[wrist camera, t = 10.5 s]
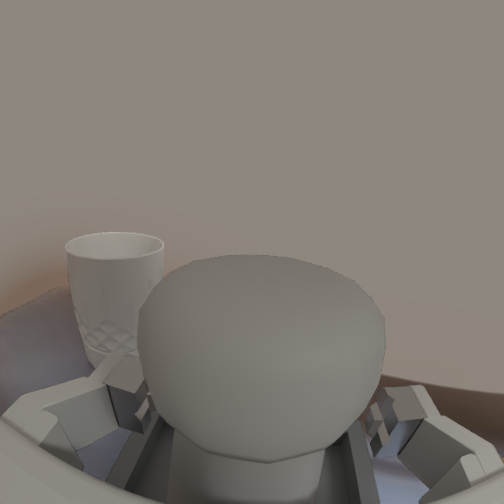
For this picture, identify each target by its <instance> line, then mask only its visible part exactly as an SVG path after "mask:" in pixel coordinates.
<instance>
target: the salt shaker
mask: <svg viewBox="0 0 504 504" xmlns="http://www.w3.org/2000/svg"><path fill="white" fill-rule="evenodd" d="M385 347H386V338H385V318H384V316H383V315H382V313H381V312H380V310H379V308H378V307H377V305H376V304H375V302H374V300H373V299H372V298H371V297H370V296H369V295H368V294H367V293H366V292H365V291H364V290H363V289H362V288H361V287H360V286H359V285H358V284H357V283H356V282H355V281H354V280H352V279H349V278H347V277H345V276H343V275H341V274H339V273H337V272H335V271H333V270H331V269H329V268H326V267H322V266H319V265H315V264H311V263H308V262H304V261H301V260H297V259H293V258H287V257H278V256H269V255H226V256H219V257H213V258H207V259H202V260H195V261H192V262H190V263H188V264H186V265H184V266H182V267H180V268H178V269H175V270H174V271H171V272H170V273H169V274H168V275H167V276H165V278H164V279H162V280H161V281H160V282H159V283H158V284H157V285H156V286H155V287H154V288H153V290H152V291H151V293H150V294H149V296H148V297H147V299H146V300H145V302H144V303H143V305H142V306H141V308H140V310H139V316H138V329H137V349H138V353H139V358H140V362H141V366H142V370H143V374H144V377H145V380H146V383H147V385H148V388H149V391H150V394H151V397H152V399H153V402H154V405H155V407H156V410H157V412H158V413H159V414H160V415H161V417H162V418H163V419H164V420H165V421H166V422H167V423H168V424H169V425H170V426H172V427H173V428H174V436H173V445H172V453H171V462H170V472H169V482H168V493H167V504H314V502H315V498H316V493H317V489H318V484H319V479H320V475H321V469H322V464H323V459H324V453H325V449H326V448H327V447H328V446H330V445H331V444H332V443H334V442H335V441H336V440H337V439H338V438H339V437H340V436H341V435H342V434H343V433H344V432H345V431H346V430H347V429H348V428H349V427H350V425H351V424H352V423H353V422H354V421H355V420H356V419H357V418H358V417H359V416H360V415H361V413H362V412H363V411H364V410H365V409H366V407H367V405H368V403H369V401H370V399H371V398H372V396H373V394H374V392H375V390H376V388H377V386H378V384H379V381H380V376H381V371H382V365H383V360H384V354H385Z"/></svg>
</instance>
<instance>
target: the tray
mask: <svg viewBox="0 0 504 504" xmlns="http://www.w3.org/2000/svg"><path fill="white" fill-rule="evenodd" d="M150 414H151V419H152V420H151V422H150V424H149V426H148V428H147V430H146V432H145V434H141V433H138V432H134V431H132V433H131V435H130V436H129V438H128V440H127V442H126V444H125V446H124V447H123V449H122V451H121V453H120V455H119V457H118V458H117V460H116V462H115V464H114V466H113V468H112V469H111V471H110V473H109V475H108V477H107V479H106V481H105V482H106V483H109V484H111V485H113V486H116V487H118V488H121V489H123V490H126V491H129V492H131V493H134V494H137V495H140V496H143V497H146V498H149V499H152V500H155V501H158V502H162V503H165V504H167V493H168V482H169V472H170V462H171V453H172V445H173V436H174V428H173V427H172V426H170V425H169V424H168V423H167V422H166V421H165V420H164V419H163V418H162V417H161V415H160V414H159V413H158V412H157V410H156V411H154V412H152V413H150ZM314 504H380V501H379V497H378V492H377V487H376V483H375V478H374V474H373V470H372V465H371V461H370V457H369V453H368V449H367V445H366V441H365V437H364V433H363V429H362V426H361V422H360V420H355V421H354V422H353V423H352V424H351V425H350V427H349V428H348V429H347V430H346V431H345V432H344V433H343V434H342V435H341V436H340V437H339V438H338V439H337V440H336V441H335V442H334V443H332V444H331V445H330V446H328V447H327V448H326V449H325V453H324V459H323V464H322V469H321V475H320V479H319V484H318V489H317V493H316V498H315V502H314Z"/></svg>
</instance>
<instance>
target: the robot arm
mask: <svg viewBox="0 0 504 504" xmlns="http://www.w3.org/2000/svg"><path fill="white" fill-rule="evenodd" d="M375 399H376V401H377V402H375V403H374V404H373V405H371V406H370V408H369V410H368V412H367V415H366V421H365V422H366V430H367V433H368V434H369V435H370V436H371V437H373V439H372V441H371V442H370V445H371V449H372V452H373V456H374V458H386V457H395V456H398V457H397V458H398V459H399V460H400V461H401V462H402V463H403V464H404V465H405V466H406V467H407V468H409V469H410V470H411V471H412V472H413V473H414V474H415V475H416V476H417V477H418V478H419V479H420V480H421V481H422V482H423V483H424V484H425V485H426V486H427V487H428V488H429V489H430V490H429V491H428V492H427V493H426V494H425V495H424V496H422V497H421V499H420V500H419V504H504V464H503V462H502V460H501V458H500V456H499V454H498V453H497V451H496V449H495V447H494V446H493V444H491V443H489V442H488V441H486V440H484V439H482V438H481V437H479V436H477V435H476V434H474V433H472V432H471V431H469V430H467V429H466V428H464V427H462V426H461V425H459V424H457V423H456V422H454V421H452V420H451V419H449V418H448V417H446V416H441V415H440V414H439V412H438V410H437V408H436V406H435V405H434V403H433V401H432V399H431V398H430V396H429V394H428V393H427V391H426V389H425V387H424V386H422V385H411V386H401V387H381V388H380V389H379V390H378V391H377V393H376V395H375ZM154 411H156V407H155V405H154V402H153V399H152V397H151V394H150V391H149V388H148V385H147V383H146V380H145V377H144V374H143V370H142V366H141V362H140V358H139V357H137V356H134V355H131V354H126V353H123V352H120V351H117V350H114V351H111V352H110V353H109V355H108V356H107V357H106V358H105V359H104V360H103V361H102V362H101V363H100V365H99V366H98V367H97V368H96V369H95V370H94V371H93V372H92V373H91V375H90V376H89V377H88V378H87V377H84V376H83V377H80V378H77V379H74V380H71V381H67V382H64V383H61V384H58V385H54V386H51V387H47V388H44V389H40V390H37V391H33V392H29V393H26V394H22V395H21V396H20V397H19V398H18V399H17V400H16V401H15V402H14V403H13V404H12V405H11V406H10V407H9V408H8V409H7V410H6V411H5V412H4V413H3V414H2V415H1V417H0V504H165V503H162V502H158V501H155V500H152V499H149V498H146V497H143V496H140V495H137V494H134V493H131V492H129V491H126V490H123V489H121V488H118V487H116V486H113V485H111V484H109V483H106V482H104V481H102V480H100V479H97V478H95V477H93V476H91V475H89V474H87V473H85V472H83V471H82V470H83V468H84V466H83V463H82V461H81V460H80V458H79V457H78V455H77V453H76V451H78V450H80V449H82V448H84V447H86V446H87V445H89V444H91V443H93V442H95V441H97V440H98V439H100V438H102V437H104V436H106V435H107V434H109V433H111V432H113V431H114V430H116V429H118V428H119V427H122V428H125V429H128V430H131V431H134V432H138V433H141V434H145V432H146V430H147V428H148V426H149V424H150V422H151V420H152V419H151V414H150V413H152V412H154Z"/></svg>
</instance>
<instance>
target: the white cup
mask: <svg viewBox="0 0 504 504" xmlns="http://www.w3.org/2000/svg"><path fill="white" fill-rule="evenodd" d="M164 247H165V244H164V242H163V241H162V240H160V239H159V238H156V237H153V236H150V235H146V234H140V233H130V232H104V233H95V234H88V235H84V236H80V237H77V238H75V239H72V240H70V241H69V242H67V243H66V244H65V248H64V249H65V257H66V265H67V272H68V279H69V286H70V292H71V297H72V303H73V308H74V311H75V315H76V319H77V325H78V328H79V331H80V334H81V336H82V340H83V344H84V348H85V352H86V356H87V359H88V360H89V362H90V363H91V364H92V366H93V367H94V368H95V369H96V368H97V367H98V366H99V365H100V363H101V362H102V361H103V360H104V359H105V358H106V357H107V356H108V355H109V353H110V352H111V351H114V350H117V351H120V352H123V353H126V354H131V355H134V356H137V357H139V353H138V349H137V329H138V316H139V310H140V308H141V306H142V305H143V303H144V302H145V300H146V299H147V297H148V296H149V294H150V293H151V291H152V290H153V288H154V287H155V286H156V285H157V284H158V283H159V282H160V281H161V280H162V279H163V261H164Z"/></svg>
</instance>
